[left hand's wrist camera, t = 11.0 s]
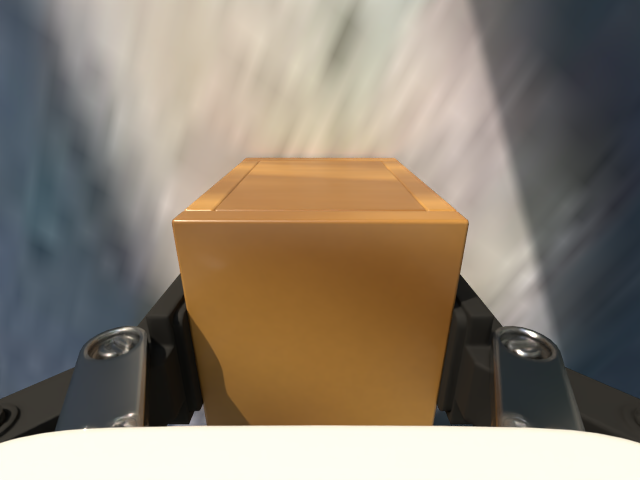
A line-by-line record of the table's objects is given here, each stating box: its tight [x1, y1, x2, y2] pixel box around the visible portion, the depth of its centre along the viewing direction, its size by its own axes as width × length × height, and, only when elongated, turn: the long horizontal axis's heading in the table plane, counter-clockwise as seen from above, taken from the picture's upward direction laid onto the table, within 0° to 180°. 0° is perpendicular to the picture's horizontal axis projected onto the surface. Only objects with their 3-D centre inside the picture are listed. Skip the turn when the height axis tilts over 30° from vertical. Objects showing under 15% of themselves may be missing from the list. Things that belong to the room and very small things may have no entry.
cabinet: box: [172, 158, 469, 426], centre depth 14 cm, size 18×6×8 cm, turn 0°
